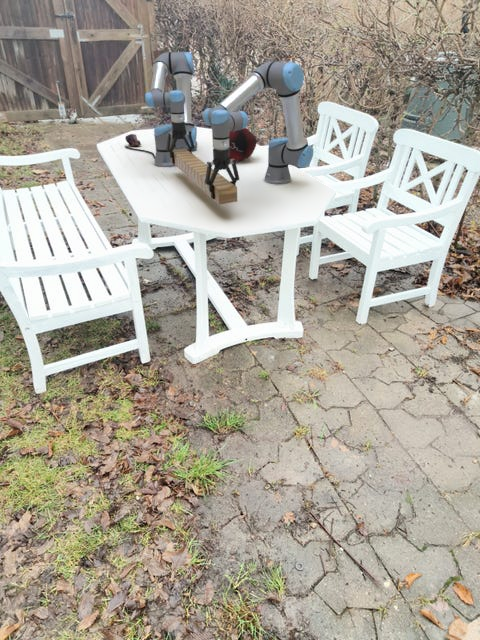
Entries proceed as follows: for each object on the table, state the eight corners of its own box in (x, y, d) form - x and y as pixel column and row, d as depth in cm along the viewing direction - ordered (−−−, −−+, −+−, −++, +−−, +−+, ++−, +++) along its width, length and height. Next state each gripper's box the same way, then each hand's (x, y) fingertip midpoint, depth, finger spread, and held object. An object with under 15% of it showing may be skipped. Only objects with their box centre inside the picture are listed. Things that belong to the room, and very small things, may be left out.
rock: (137, 145, 340) (124, 146, 336) (136, 133, 337) (122, 134, 332) (142, 146, 331) (129, 147, 327) (140, 133, 327) (127, 134, 323)
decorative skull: (217, 132, 305) (217, 129, 281) (251, 125, 304) (254, 121, 280) (224, 165, 312) (224, 164, 288) (257, 157, 311) (260, 156, 287)
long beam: (170, 161, 268) (169, 149, 264) (185, 159, 271) (184, 148, 267) (219, 204, 208) (218, 189, 204) (237, 201, 211) (237, 186, 207)
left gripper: (161, 124, 245) (165, 166, 258) (199, 121, 252) (201, 161, 265) (157, 122, 251) (161, 163, 264) (194, 118, 258) (197, 158, 271)
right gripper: (200, 152, 195) (203, 202, 208) (246, 147, 202) (246, 196, 215) (195, 148, 201) (198, 197, 214) (240, 143, 208) (240, 191, 221)
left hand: (181, 162), depth 264 cm, fingers closed on long beam, 9 cm apart
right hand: (222, 196), depth 214 cm, fingers closed on long beam, 9 cm apart
